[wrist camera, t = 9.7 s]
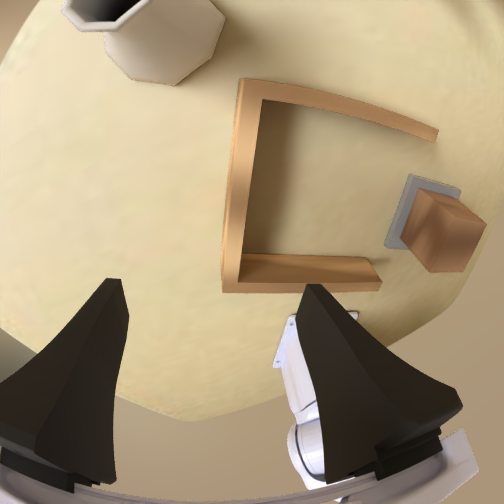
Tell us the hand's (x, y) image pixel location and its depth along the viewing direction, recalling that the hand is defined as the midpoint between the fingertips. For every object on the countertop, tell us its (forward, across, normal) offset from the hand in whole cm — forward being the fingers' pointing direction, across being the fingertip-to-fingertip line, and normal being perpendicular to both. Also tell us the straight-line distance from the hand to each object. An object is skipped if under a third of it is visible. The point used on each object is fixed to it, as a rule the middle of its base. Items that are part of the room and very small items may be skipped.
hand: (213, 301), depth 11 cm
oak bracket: (+10, -8, -1) cm, 13 cm away
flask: (+11, +4, -11) cm, 16 cm away
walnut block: (+10, -19, 0) cm, 21 cm away
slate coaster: (+10, -19, 0) cm, 22 cm away
